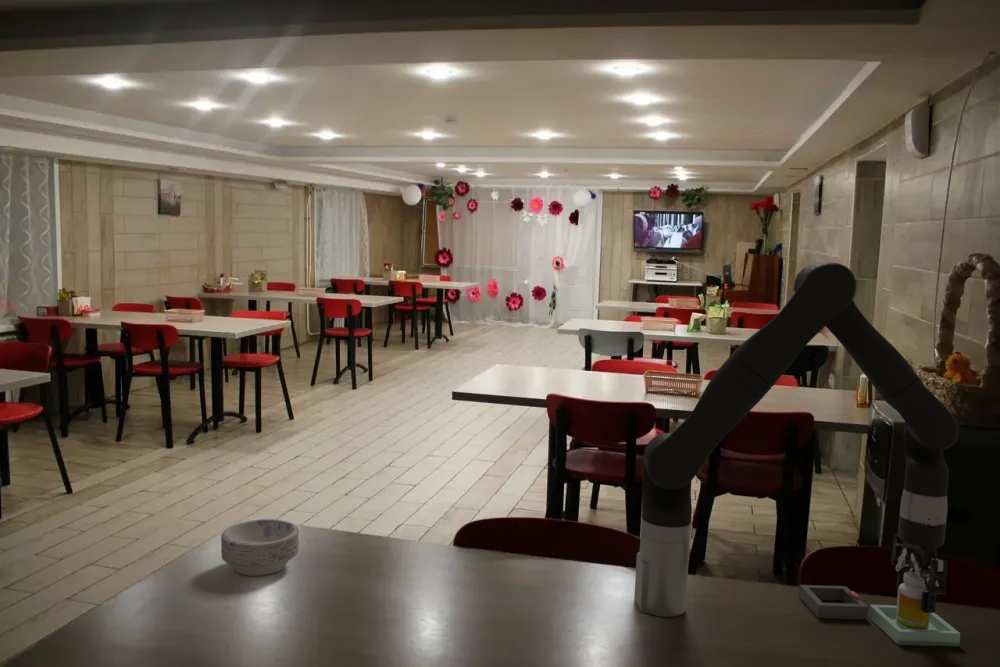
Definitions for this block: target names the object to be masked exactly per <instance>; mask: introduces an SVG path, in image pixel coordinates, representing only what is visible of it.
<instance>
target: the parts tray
mask: <svg viewBox="0 0 1000 667" xmlns="http://www.w3.org/2000/svg"><path fill="white" fill-rule="evenodd" d="M896 609H897V604H895V605H892V604H890V605H889V604H869V605H868V616H867V618H869V619H870V620H871V621H872V622H873V623H875V625H876V626H878V627H879V628H880V629H881V630H882V631H883V632H884V633H885V635H887V636H888V637H890V639H891V640H892V641H894V643H895V644H896V645H899V646H932V647H960V643H961V633H960V632H959V631H958V630H957V629H956V628H954V627H953V626H952V625H950V624H949V623H948V622H947V621H946V620H944V619H943V618H941V616H939V615H938V614H936V613H935V612H934V613H930V614H929V626H928V630H911V629H903V628H901V627H899V626H898V625H897V624H896Z"/></svg>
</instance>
